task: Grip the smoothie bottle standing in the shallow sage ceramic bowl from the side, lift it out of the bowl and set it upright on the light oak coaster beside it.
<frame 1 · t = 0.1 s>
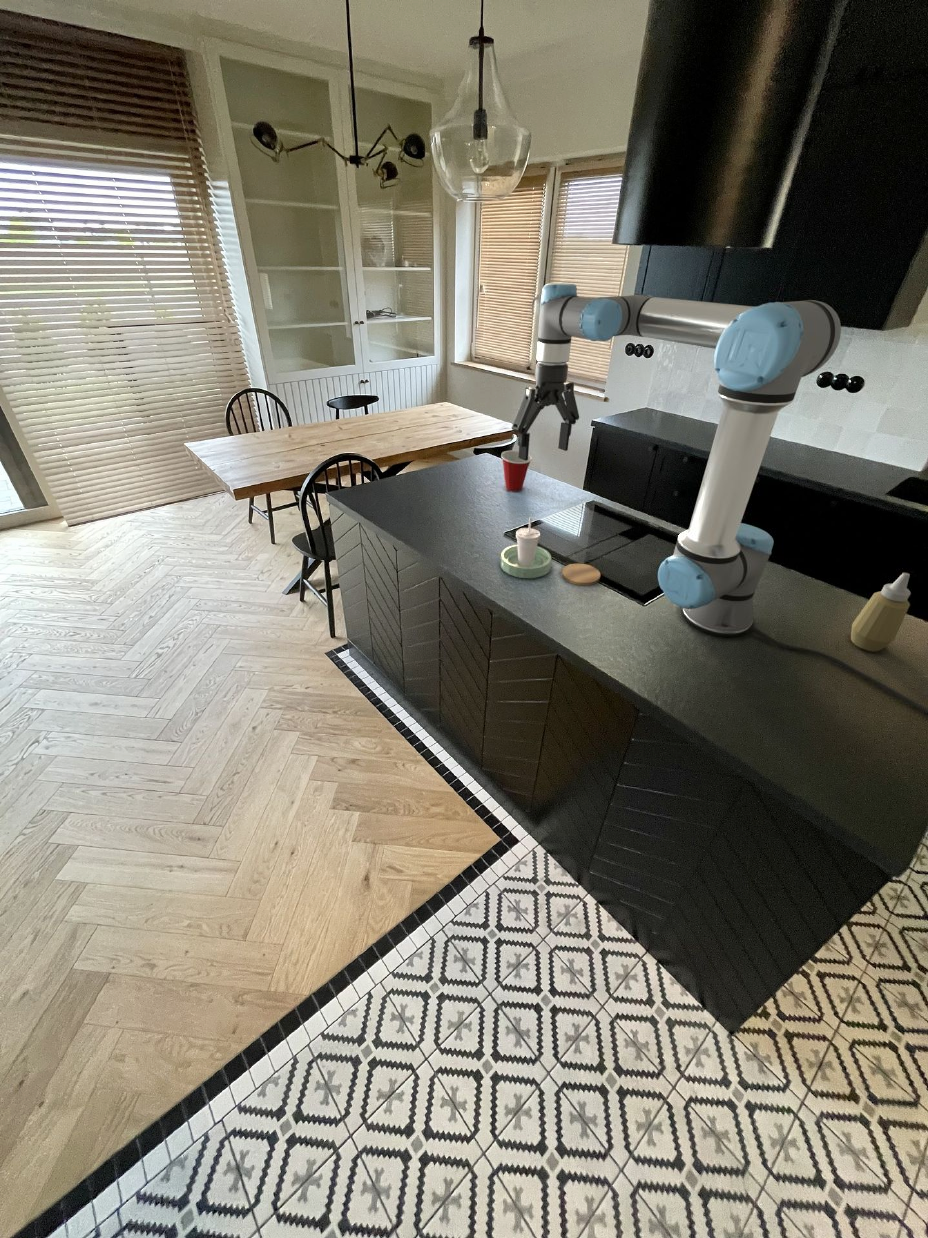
hand: (543, 454, 134), 28 cm above the counter, tool pointing down, fingers open, 13 cm apart
smoothie: (525, 565, 144), resting on bowl
coaster: (580, 575, 140), on the counter
squeeze bottle: (865, 644, 118), on the counter
plastic cup: (514, 489, 188), on the counter
bowl: (525, 566, 144), on the counter
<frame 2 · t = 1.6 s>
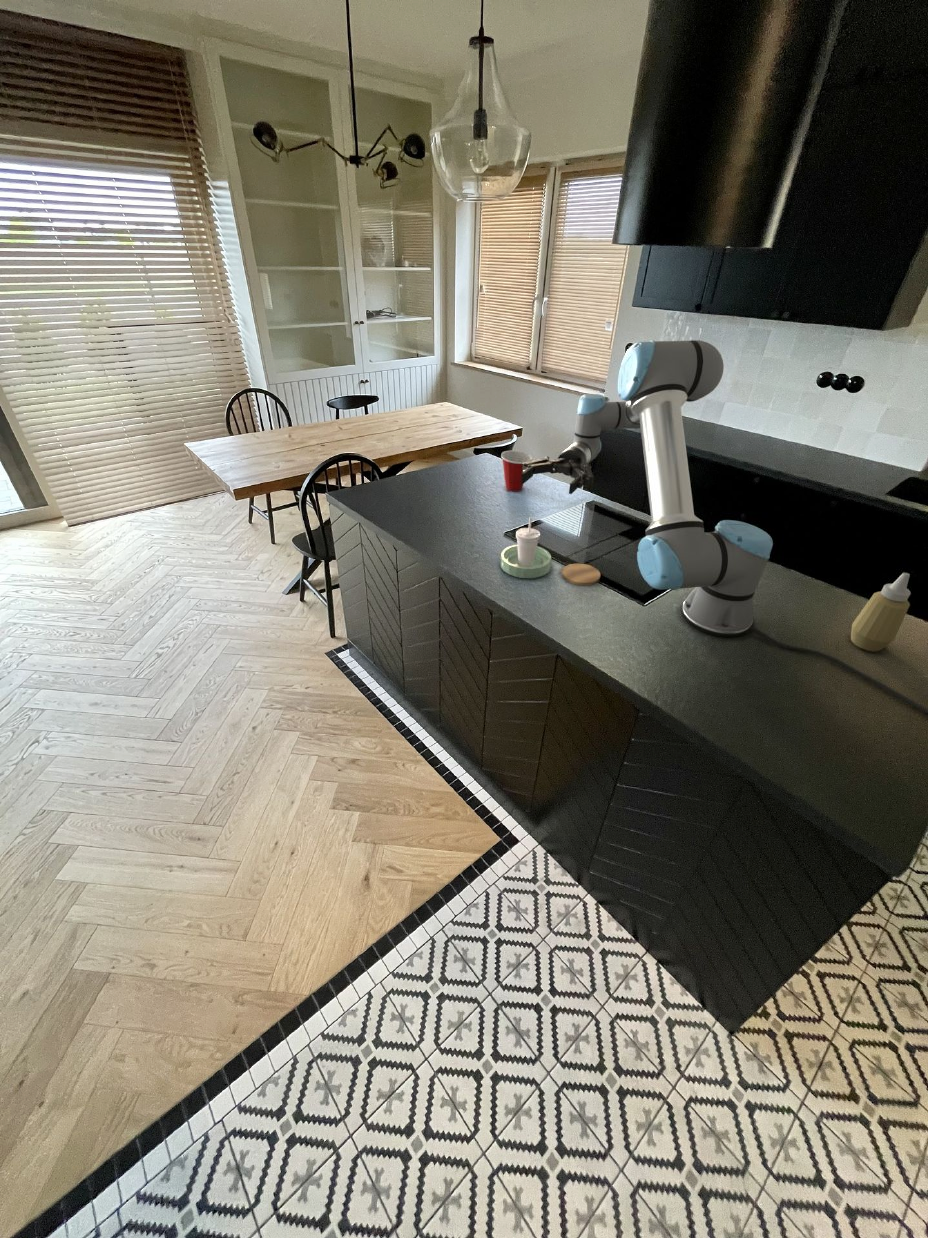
hand: (546, 483, 139), 20 cm above the counter, tool horizontal, fingers open, 13 cm apart
nothing on the counter moved.
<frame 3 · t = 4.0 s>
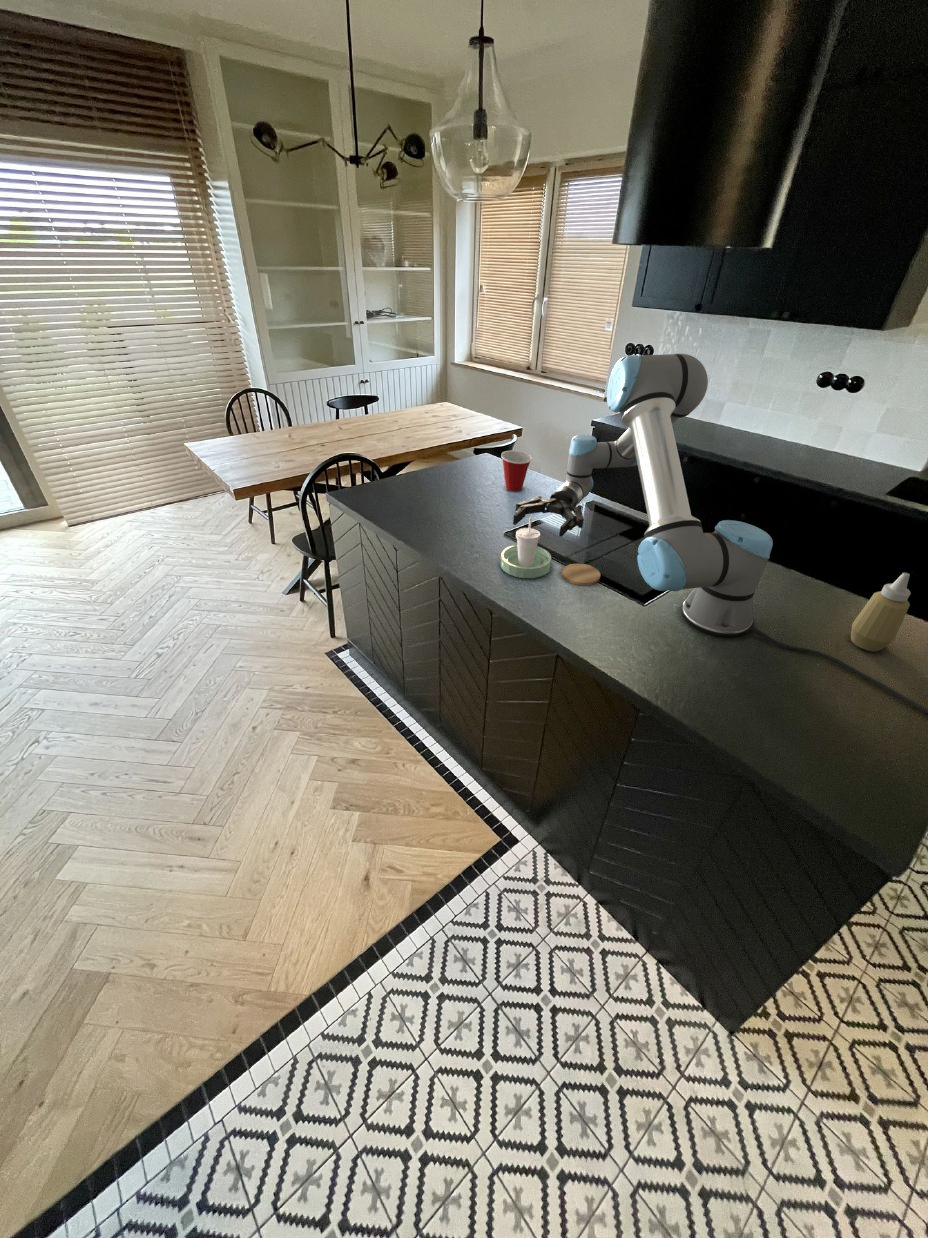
hand: (537, 525, 143), 9 cm above the counter, tool horizontal, fingers open, 13 cm apart
nothing on the counter moved.
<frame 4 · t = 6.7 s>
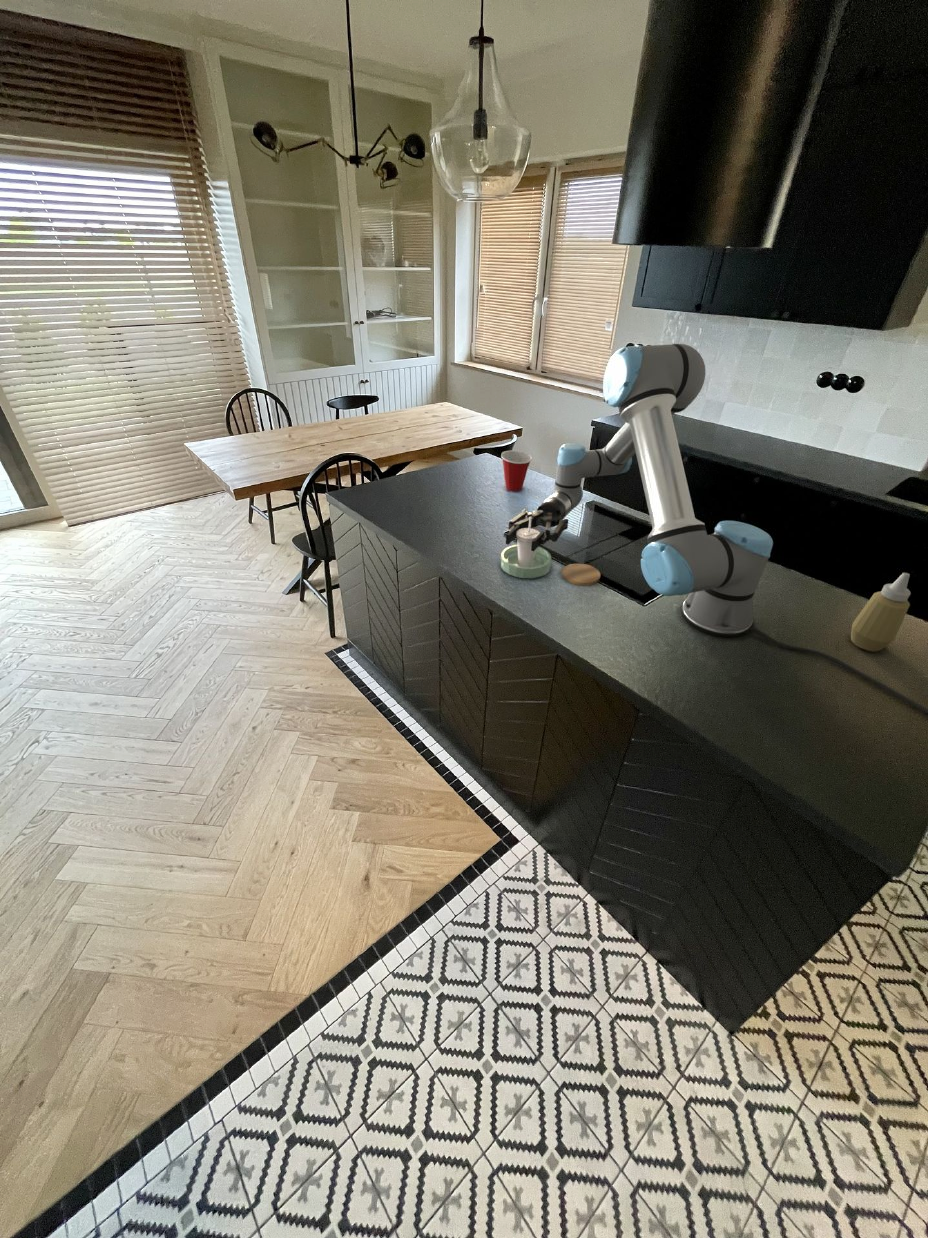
hand: (520, 542, 135), 9 cm above the counter, tool horizontal, fingers closed on smoothie, 6 cm apart
smoothie: (525, 565, 144), resting on bowl, touching gripper
everything else where it was.
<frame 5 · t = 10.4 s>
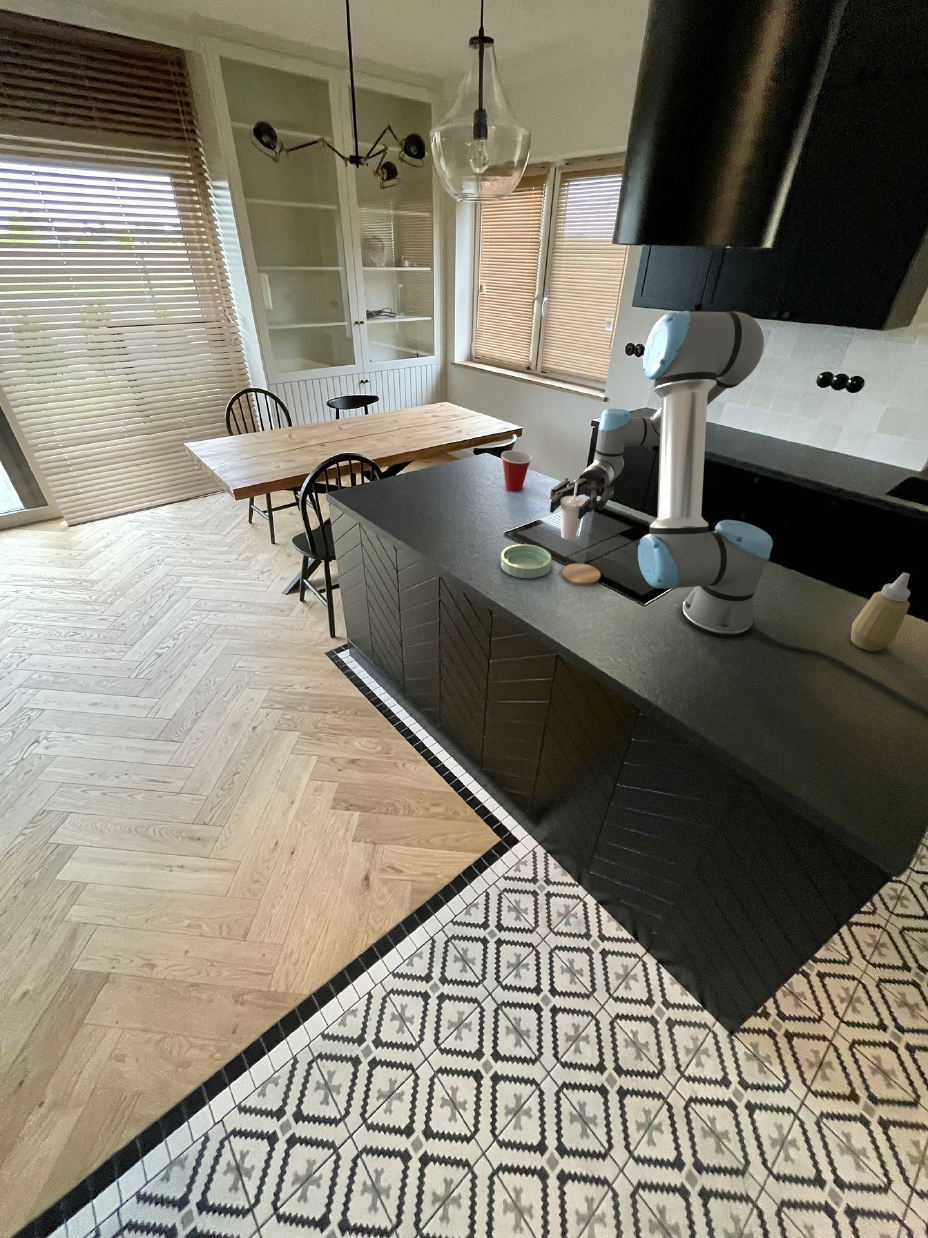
hand: (565, 510, 126), 20 cm above the counter, tool horizontal, fingers closed on smoothie, 6 cm apart
smoothie: (568, 537, 135), point 11 cm above the counter, touching gripper
everything else where it was.
when the fingers open (10 cm above the counter, at t = 14.2 s): smoothie stays where it is, resting on coaster.
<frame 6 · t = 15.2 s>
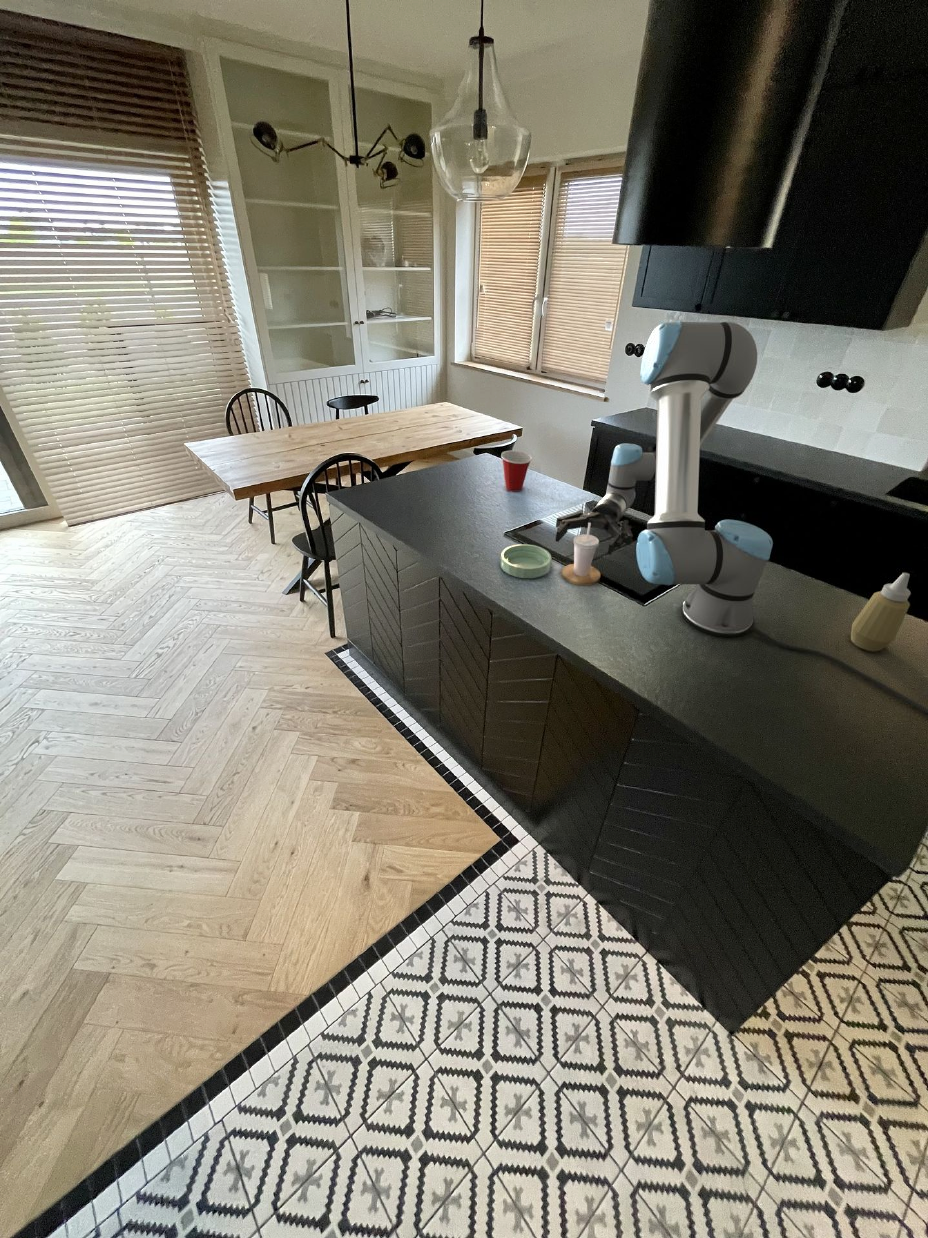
hand: (583, 543, 132), 11 cm above the counter, tool horizontal, fingers open, 13 cm apart
smoothie: (581, 573, 140), point 1 cm above the counter, touching coaster
everything else where it was.
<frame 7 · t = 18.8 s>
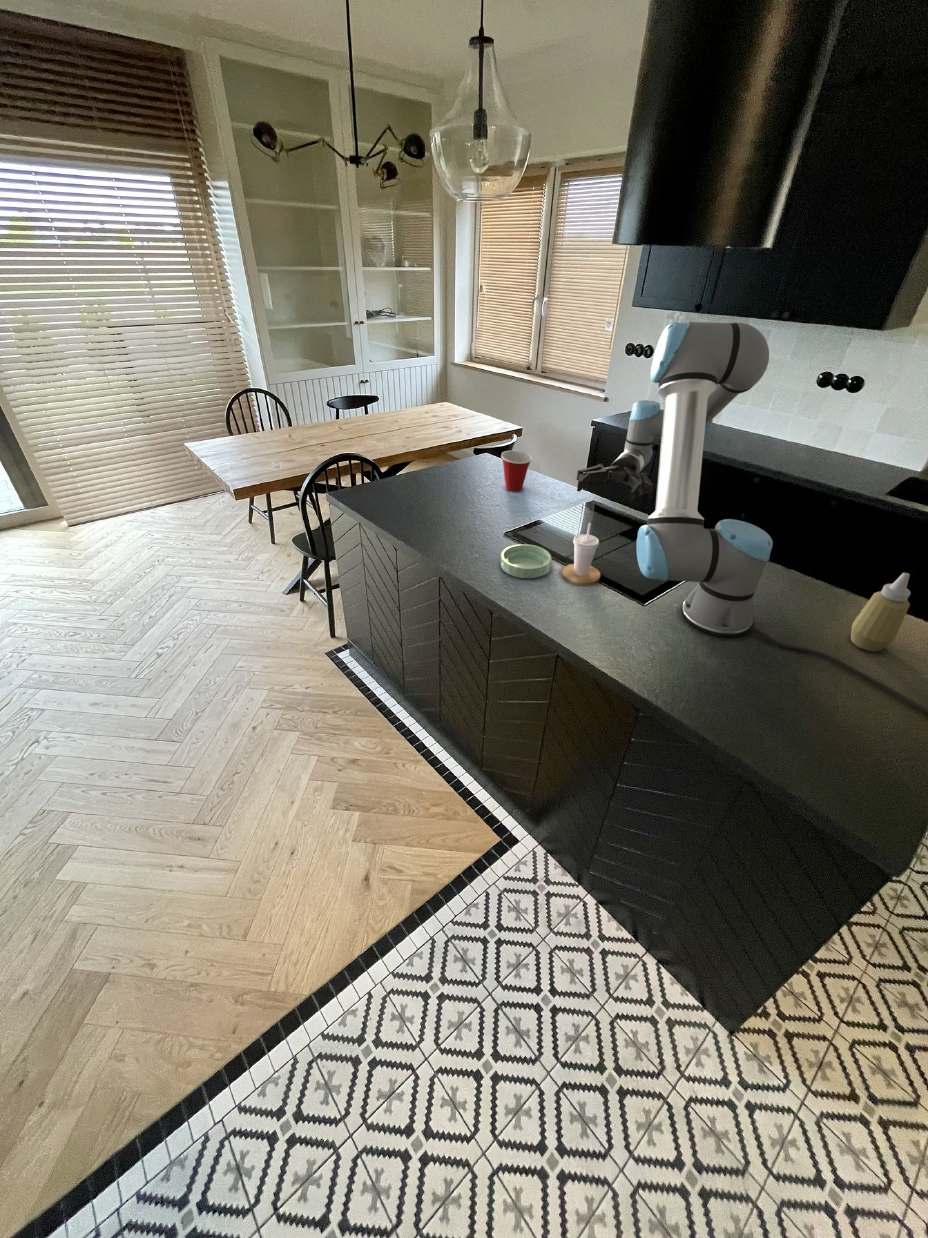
hand: (604, 491, 135), 20 cm above the counter, tool horizontal, fingers open, 13 cm apart
nothing on the counter moved.
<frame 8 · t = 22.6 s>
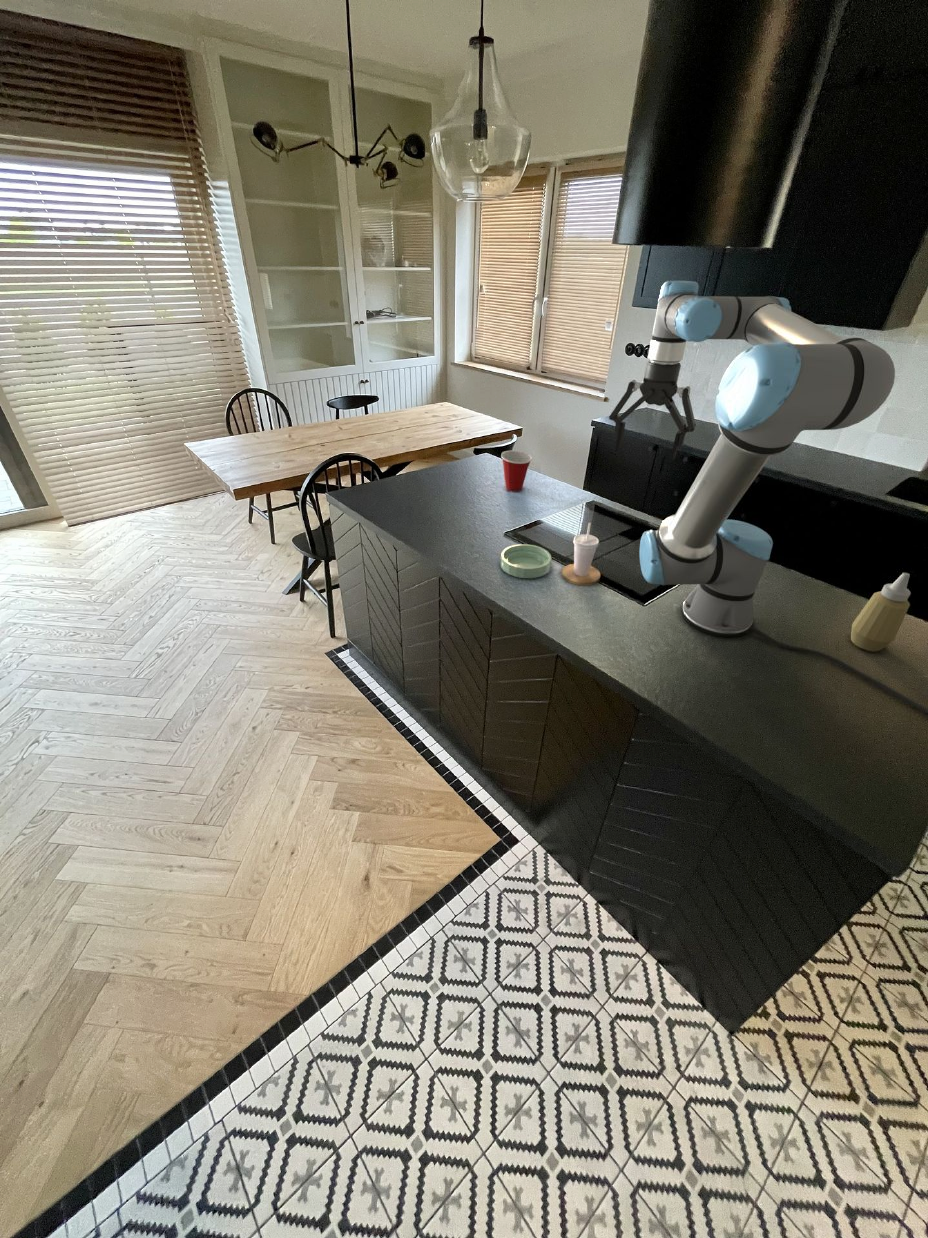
hand: (644, 454, 133), 29 cm above the counter, tool pointing down, fingers open, 13 cm apart
nothing on the counter moved.
at the end: smoothie 0.1 cm off-centre on the coaster, point 0.6 cm above the coaster's base; smoothie tilted 0°; smoothie touching coaster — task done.
